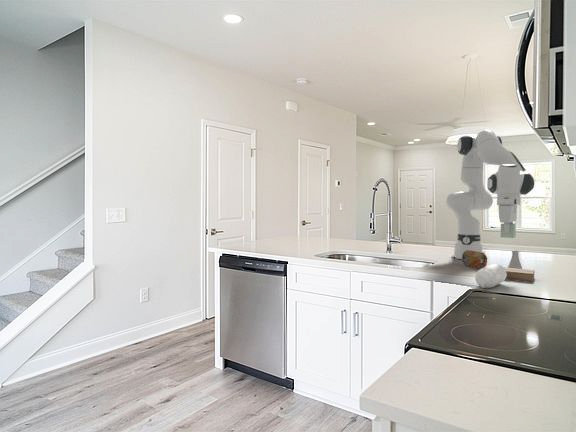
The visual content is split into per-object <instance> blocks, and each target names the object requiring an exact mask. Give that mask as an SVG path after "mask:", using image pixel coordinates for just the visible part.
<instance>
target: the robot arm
mask: <svg viewBox="0 0 576 432" xmlns="http://www.w3.org/2000/svg"><path fill="white" fill-rule="evenodd" d="M502 141H503V139H502V138H501V136H498V135H497V134H496V133H495V132H494V131H493V130H490V129H483V130H481V131H479V132H478V133H477V135H475V134H474V135H464V136H460V137H459V139H458V141H457V143H456V147H457V152H458V154H459V155H462V156H463V158H462V162H461V171H460V180H461V183H463V185H466V186H467V187H468V191H456V192H455V191H454V192H450V193H449V194H448V195H447V198H446V201H445V202H446V205H447V207H448V208H449V209H450V210H451V211H452V212H453V213H454V214H455V216H456V218H457V222H458V223H457V225H458V227H457V228H458V234H457V241H456V242H455V243H454V251H453V254H451V258H454V257H455V258H454V259H458V260H462V255H463V253H464V252H465V251H466V250H469V251H476V252H482V253H484V254H485V251H483V244H482V243H481V241H482V240H481V238H482V237H481V234H480V232H481V231H480V229H481V228H480V227H481V226H480V220H479V219H477V218H476V217H474V216H473V215H472V213H471V211H485V210H488V209H490V208H491V207H492V205H493V203H494V199H493V196H492V194H495V195H496V205H497V206H498V209H497V210H498V220H499V222H500V224H502V223H504V232H505V233H509V232H510V229H509V225H510V223H514V222H517V209H518V206H519V205H521V195H524V196H525V195H527V194H529V193H531V192H532V191H533V189H534V188H535V178H534V177H533V176H532V174H530V173H529V172H528V171H527V170H526V169H525V167H524V166H523V164H522V163H521V161H520V160H519V158H518V157H517V156H516V155H515V154H514V153H513V152H511V151H510V150H509V149H507V148H505V146H504V145H503V142H502ZM484 163H485V164H488V165H494V166H498V170H497V171H496V172H495V173H492V174H491V175H490V176H489V177H488V178H487V190H488V191H489V192H490V193H489V192H488V191H487V190H486V188H485V185H484V182H483V181H484V180H483V177H484V176H483V173H484ZM491 193H492V194H491Z"/></svg>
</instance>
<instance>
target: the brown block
mask: <svg viewBox="0 0 576 432" xmlns="http://www.w3.org/2000/svg"><path fill="white" fill-rule="evenodd" d="M504 268H505V271H506V274H507V276H506V279H510V280H509V281H514V280H519V281H518V282H524V281H527V282H526V283H534V280H535V269H526V268H522V269H517V268H508V267H504Z"/></svg>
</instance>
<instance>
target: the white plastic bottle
mask: <svg viewBox="0 0 576 432" xmlns="http://www.w3.org/2000/svg"><path fill="white" fill-rule="evenodd" d="M506 276H507V274H506V271H505V268H504V267H503V266H502V265H500V264H496V263H491V264H489V265H486V266H485V267H484V268H479V270H477V272H476V274H475V282H476V284H477V285H478V286H479V287H480V288H483V289H491V288H494V287H496V286H498V285H500V284H501V283H503V282H504V281H506V280H505V279H506Z"/></svg>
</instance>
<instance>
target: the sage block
mask: <svg viewBox="0 0 576 432" xmlns="http://www.w3.org/2000/svg"><path fill="white" fill-rule="evenodd" d="M516 224H517V223H514V222H513V223H510V225H509V229H510V232H509V233H505V232H504V223H500V238H508V239H509V238H510V239H511V238H512V239H515V238H517V237H516V227H517V226H516Z"/></svg>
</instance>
